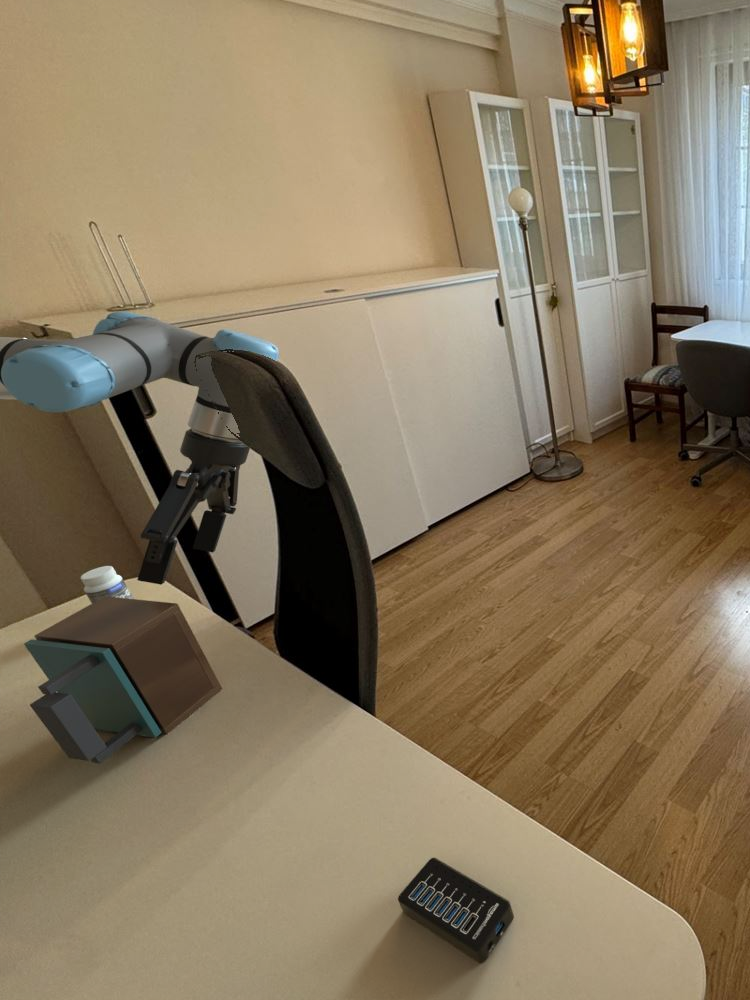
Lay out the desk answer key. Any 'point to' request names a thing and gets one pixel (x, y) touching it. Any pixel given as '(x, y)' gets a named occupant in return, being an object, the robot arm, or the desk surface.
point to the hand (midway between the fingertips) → (179, 564)
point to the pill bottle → (104, 584)
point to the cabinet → (146, 653)
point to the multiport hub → (457, 909)
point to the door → (87, 700)
